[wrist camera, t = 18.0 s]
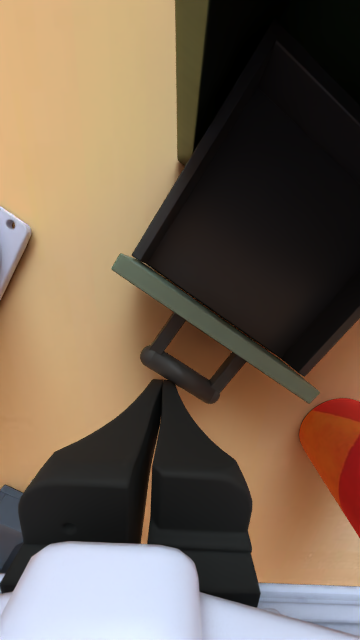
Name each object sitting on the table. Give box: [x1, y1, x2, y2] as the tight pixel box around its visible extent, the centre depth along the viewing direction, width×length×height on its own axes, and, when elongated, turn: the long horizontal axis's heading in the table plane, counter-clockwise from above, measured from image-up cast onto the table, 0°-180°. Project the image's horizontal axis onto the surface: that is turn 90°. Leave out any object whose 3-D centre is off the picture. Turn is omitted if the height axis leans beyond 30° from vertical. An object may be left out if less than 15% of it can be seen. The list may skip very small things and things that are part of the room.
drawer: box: [111, 19, 360, 404], centre depth 10 cm, size 11×15×4 cm
